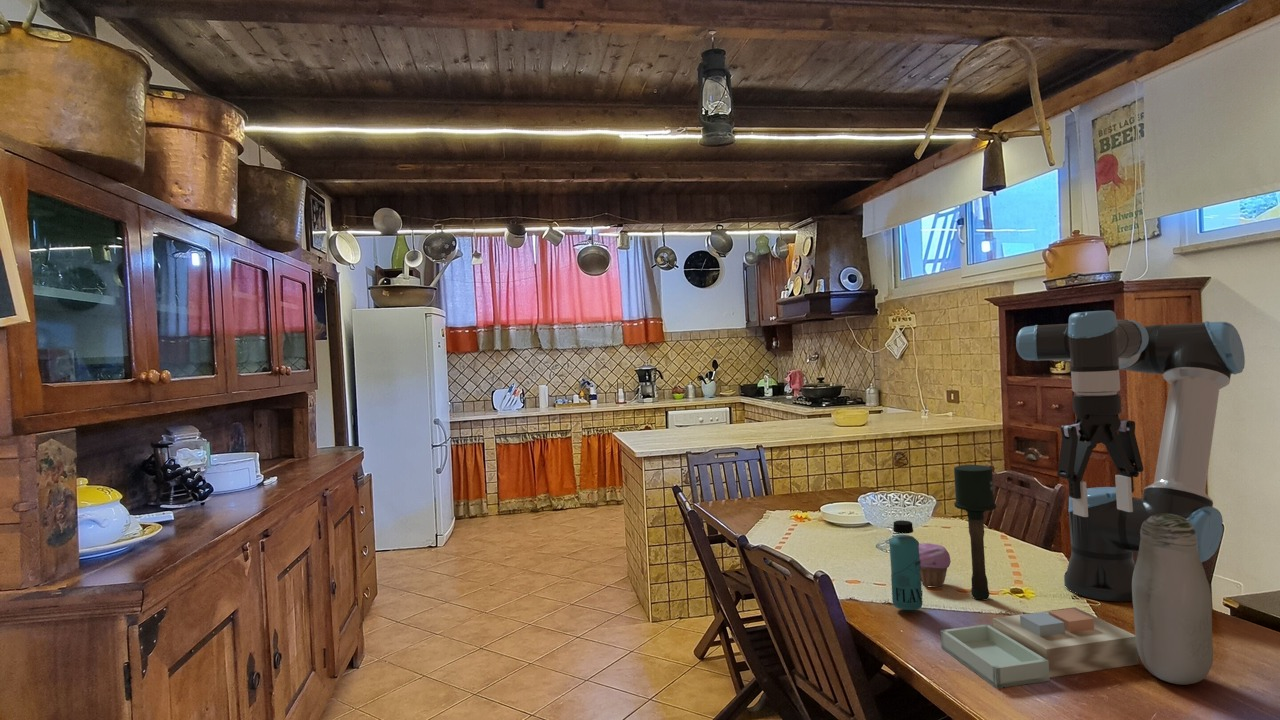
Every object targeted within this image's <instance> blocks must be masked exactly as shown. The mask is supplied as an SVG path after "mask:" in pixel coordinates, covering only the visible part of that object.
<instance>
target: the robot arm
mask: <svg viewBox="0 0 1280 720" xmlns="http://www.w3.org/2000/svg"><path fill="white" fill-rule="evenodd" d="M1015 338H1016V339H1015V340H1016V342H1015V344H1016V345H1015V347H1016V351H1017V353H1018V356H1019V357H1020V358H1022V360H1024V361H1036V362H1040V361H1041V362H1042V361H1058V362H1070V375H1071V376H1070V377H1071V378H1070V379H1071V391H1072V392H1073V393H1075V394H1073V396H1072V411H1073V413H1074V414H1075V416H1076V418H1075V421H1074V423H1073V424H1069V425H1067V424H1062V425H1061V426H1060V434H1061V443H1060V451H1059V459H1058V467H1057V477H1059V478H1063V479H1064V480H1067V482H1068V509H1067V512H1068V519H1069V520H1068V521H1069V533H1070V534H1069V535H1070V546H1071V547H1070V549H1071V554H1070V558H1069V562H1068V565H1067V569H1066V571H1065V573H1064V575H1063V576H1064V577H1063V578H1064V579H1063V581H1064V587H1065V586H1066V587H1067V588H1068V589H1069V590H1068V589H1067V588H1066V587H1065V588H1066V589H1067V590H1068V591H1070V590H1071V591H1073V592H1076V593H1078V594H1080V595H1079V596H1081V595H1082V597H1083V598H1084V597H1085V598H1089V599H1093V600H1097V601H1098V600H1099V601H1105V602H1106V601H1107V602H1118V603H1119V602H1121V603H1122V602H1133V599H1132V577H1133V572H1134V567H1135V564H1136V561H1135V560H1134V552H1136V553H1138V552H1139V546H1140V540H1141V537H1140V530H1141V526H1142V524H1143V522H1144V521H1145V520H1146V519H1147V518H1148V517H1150V516H1153V515H1157V514H1176V515H1178V516H1181V517H1183V518H1185V519H1187V520H1188V521H1189V522H1190V523H1191V524H1192V526H1193V527H1194V529H1195V532H1196V535H1197V543H1198V551H1199V556H1200V560H1201V563H1204V562H1206V561H1208V560H1209V559H1211V557H1213V556H1214V555H1215V553H1216V551H1217V550H1218V547H1219V546H1220V542H1221V539H1222V535H1223V530H1224V527H1223V526H1222V525H1223V522H1224V521H1223V516H1222V513H1221V512H1220V511H1219V510H1218V508H1216V507H1214V500H1213V499H1212V498H1211V497H1210V496H1209V495H1208V494H1207V493H1206V488H1207V487H1206V486H1207V480H1208V474H1209V473H1208V472H1209V465H1210V458H1211V451H1212V444H1213V437H1214V430H1215V424H1216V418H1217V409H1218V401H1219V395H1220V390H1221V389H1224V388H1225V387H1227V386H1229V384H1230V383H1231V376H1232V375H1237V374H1241V373H1243V371H1244V368H1245V363H1246V360H1245V358H1246V357H1245V351H1244V350H1245V349H1244V345H1243V341H1242V339H1241V336H1240V333H1239V331H1238V330H1237V328H1236V327H1235V326H1234V325H1233V324H1232V323H1230V322H1227V321H1208V320H1206V321H1204V322H1203V321H1202V322H1190V323H1189V322H1187V323H1172V324H1171V323H1169V324H1153V325H1150V324H1149V325H1145V326H1144V325H1142V324H1141V323H1140V322H1138V321H1135V320H1133V319H1127V318H1122V319H1117V316H1116V313H1115V312H1114V311H1113V310H1109V309H1108V310H1094V311H1093V310H1092V311H1081V312H1079V311H1078V312H1074V313H1071V314H1070V315H1069V317H1068V323H1059V324H1042V325H1039V324H1035V325H1030V326H1024V327H1022V328H1020V329H1019V331H1018V332H1017V335H1016V337H1015ZM1120 370H1121V371H1122V370H1123V371H1129V372H1137V373H1141V374H1142V373H1143V374H1152V375H1153V374H1154V375H1162V378H1163V380H1165V381H1166V382H1167V383H1168V385H1169V386H1168V387H1169V388H1168V395H1167V399H1166V404H1165V405H1166V406H1165V413H1164V418H1163V425H1162V431H1161V437H1160V441H1159V442H1160V443H1159V449H1158V450H1159V451H1158V455H1157V462H1156V468H1155V473H1154V480H1153V481H1154V482H1153V483H1151V484H1149V485H1147V486H1145V487H1144V488H1143V494H1142V497H1134V496H1133V493H1134V491H1135V484H1134V483H1135V481H1134V478H1137V477H1139V475H1140V474H1139V473H1142V472H1144V466H1143V465H1144V464H1143V462H1142V457H1141V456H1142V455H1141V454H1140V449H1139V444H1138V440H1137V438H1136V422H1135V421H1134V420H1128V419H1127V420H1126V419H1120V418H1119V415H1120V414H1121V413H1122V401H1121V400H1122V396H1121V395H1120V394H1119V393H1118V392H1119V391H1121V380H1120V379H1121V378H1120ZM1101 443H1102V444H1103V445H1104V446H1105V448H1106V450H1107V452H1108V453H1109V456H1110V458H1111V459H1112V462H1113V463H1114V466H1115V467H1116V469H1117V471H1118V473H1119V474H1114V475H1115V476H1114V477H1115V478H1114V481H1115V486H1103V487H1102V486H1098V487H1089V488H1087V481H1083V477H1084V476H1085V473H1086V472H1085V471H1086V470H1087V467H1088V464H1089V461H1090V458H1091V455H1092V453H1093V450H1094V449H1096V447H1097V445H1099V444H1101ZM1071 591H1070V592H1071ZM1073 592H1072V593H1073ZM1076 593H1075V594H1076ZM1078 594H1077V595H1078Z"/></svg>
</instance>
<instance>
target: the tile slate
mask: <svg viewBox="0 0 1280 720" xmlns="http://www.w3.org/2000/svg"><path fill="white" fill-rule="evenodd" d="M1040 612H1041V613H1035V612H1032V613H1033V614H1028V613H1025V614H1026V615H1020V614H1019V615H1020V624H1021V626H1022V627H1024V628H1025V629H1027V630H1029V631H1031V632H1033V633H1034V634H1036V635H1038V636H1040V637H1042V636H1049V635H1056V634H1063V633H1065V627H1064V622H1062V621H1060V620H1058V619H1057V618H1055V617H1053V616H1051V615H1049V614H1047V613H1045V612H1043V611H1040Z"/></svg>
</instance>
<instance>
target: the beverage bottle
mask: <svg viewBox="0 0 1280 720" xmlns="http://www.w3.org/2000/svg"><path fill="white" fill-rule="evenodd" d="M892 527H893V528H892V529H893V532H894V533H897V535H894V536H892V537H891V538H890V539H889V541H888V542H889V543H888V544H889V557H890V558H889V559H890V572H891V574H890V582H891V601H892V604H893V606H894V607H895V608H897V609H901V610H905V611H916V610H919V609H921V608H922V607H923V602H924V601H923V588H922V586H923V585H922V584H923V583H922V580H921V572H920V569H921V568H920V567H921V566H920V562H921V561H920V560H921V559H920V556H919V544H920V542H919V540H917V539H916V538H915V537H914V536H913V535H908V534H912V533H913V532H914V526H913V522H912V521H910V520H895V521H893V526H892Z"/></svg>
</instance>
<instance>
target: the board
mask: <svg viewBox="0 0 1280 720" xmlns="http://www.w3.org/2000/svg"><path fill="white" fill-rule="evenodd" d="M1071 608H1073V609H1075V610H1077V611H1079V612H1081V613H1083V614H1085V615H1087V616H1089V617H1092V618H1094V629H1092V630H1085V631H1078V632H1071V633H1070V632H1068V631H1066V630H1065V633H1063V634H1056V635H1049V636H1042V637H1040V636H1038V635H1036V634H1034V633H1033V632H1031V631H1029V630H1027V629H1025V628H1024V627H1022V626H1021V624H1020V615H1026V614H1033V613H1041V612H1045V613H1047V614H1049V611H1056V610H1063V609H1071ZM992 627H993V628H995V629H996V630H998V631H1000V632H1001V633H1003V634H1005V635H1006V636H1008V637H1010V638H1011V639H1013V640H1015V641H1016V642H1018V643H1020V644H1021V645H1023V646H1025V647H1026V648H1028V649H1030V650H1031V651H1033V652H1035V653H1036V654H1038V655H1040V656H1041V657H1043V658H1045V659H1046V660H1048V661H1049V678H1055V677H1062V676H1070V675H1076V674H1081V673H1082V674H1083V673H1089V672H1090V673H1091V672H1095V671H1102V670H1103V671H1104V670H1109V669H1115V668H1122V667H1123V668H1124V667H1128V666H1135V665H1140V662H1139V661H1140V660H1139V659H1140V657H1139V654H1138V651H1137V646H1136V639H1135V634H1133V633H1131V632H1129V631H1127V630H1125V629H1123V628H1121V627H1118V626H1116V625H1114V624H1113V623H1110V622H1108V621H1105V620H1104V619H1101V618H1100V617H1097V616H1095V615H1093V614H1091V613H1088V612H1086V611H1084V610H1082V609H1080V608H1078V607H1076V606H1075V607H1074V606H1073V607H1066V608H1065V607H1064V608H1060V609H1059V608H1058V609H1051V610H1043V611H1037V612H1028V613H1020V614H1014V615H1005V616H998V617H993V618H992Z"/></svg>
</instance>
